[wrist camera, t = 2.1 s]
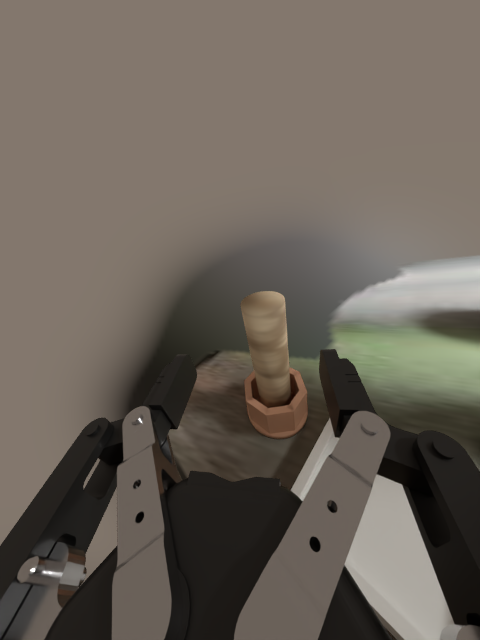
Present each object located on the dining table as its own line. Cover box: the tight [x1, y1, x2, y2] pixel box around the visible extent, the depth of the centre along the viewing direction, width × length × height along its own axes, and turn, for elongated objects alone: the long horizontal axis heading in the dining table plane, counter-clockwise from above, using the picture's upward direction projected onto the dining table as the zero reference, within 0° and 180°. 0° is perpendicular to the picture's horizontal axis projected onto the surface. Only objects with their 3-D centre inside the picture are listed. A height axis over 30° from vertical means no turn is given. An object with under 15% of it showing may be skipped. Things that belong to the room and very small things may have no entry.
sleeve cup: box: [244, 367, 308, 439], centre depth 32 cm, size 10×10×6 cm
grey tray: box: [291, 418, 454, 640], centre depth 21 cm, size 16×16×3 cm
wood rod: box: [241, 291, 291, 408], centre depth 28 cm, size 5×5×20 cm
